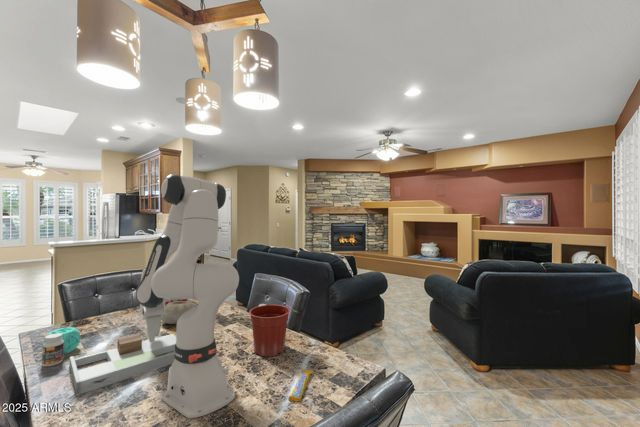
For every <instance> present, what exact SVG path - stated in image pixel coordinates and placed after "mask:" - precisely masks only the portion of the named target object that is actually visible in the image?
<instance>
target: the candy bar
mask: <svg viewBox="0 0 640 427" xmlns="http://www.w3.org/2000/svg"><path fill="white" fill-rule="evenodd" d="M313 371H314V370H309V369H300V374H299V377H298V379H297V382H296V383H295V386H294V388H293V390H292V392H291V394H290V395H289V397H288V401H289V402H292V401H293V402H296V401H300V402H302V398H303V396H304V393H305V391H306V388H307V386H308V383H309V381H308V380H310V378H311V375H312V374H313ZM306 385H307V386H306ZM304 390H305V391H304ZM302 395H303V396H302Z"/></svg>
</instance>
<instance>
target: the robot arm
mask: <svg viewBox="0 0 640 427" xmlns="http://www.w3.org/2000/svg"><path fill="white" fill-rule="evenodd" d="M160 193H161V198H162V199H163V200H164V201H165V202H166V203H169V204H171V207H170V209H169V212H168V215H167V221H166V225H165V227H164V229H163V231H162V233H161V235H160V236H159V237H158V238H157V239H156V241H155V242H154V244H153V247H152V250H151V253H150V256H149V259H148V262H147V265H146V267H145V268H144V269H143V270H142V272H141V276H140V281H139V284H138V285H137V288H136V291H135V298H136V300H137V302H138V304H139V312H140V314H142V315H143V317H144V319H145V323H146V326H145V327H146V333H147V334H146V335H147V338H148V340H149V342H154V341H155V338H157V337H159V335H160V332H161V326H162V325H161V324H162V320H161V317H162V315H163V312H164V309H165V302H167V301H170V300H178V299H188V300H198V301H197V304H196V305H197V306H195V307H194V308H192V309H190V310H188V311H186V312H184V313H183V314H182V315H181V316H180V317H179V319H178V321H177V324H176V332H175V333H176V335H175V336H176V344H175V348H174V351H173V352H174V358H175V360H174V362H173V364H170V365H169V366H170V367H169V369H168V373H167V374H168V375H167V386H166V387H167V388H166V391H164V392H163V393H162V395H161V400H162V402H164V403H166V404H167V405H169V406H170V407H171V408H173V409H174V410H176V411H177V412H179V413H180V414H181V415H182V416H184V417H186V418H187V419H195V418H200V417H203V416H206V415H208V414H211V413H213V412H216V411H218V410H219V409H222V408H223V407H225V406H227V405H228V404H230V403H231V402H232V401H233V400H234V399H235V398H236V393H235V391H234V389H233V388H232V386H231V384H230V382H229V381H228V379H227V375H228V374H229V368H228V366H224V367H223V364H222V362H223V360H222V358H219V356H218V353H217V352H218V350H217V343H216V339H215V326H216V319H217V318H216V317H217V314H218V312H219V310H220V307H221V306H222V304H223V303H224V302H225V301H226V300H227V299H228V298H229V297H231V296H232V295H234V293H235V292H236V290H237V288H238V286H239V282H240V275H239V272H238V270H237V269H236V268H235V267H234V266H233V265H231V264H226V263H219V262H216V263H215V262H212V263H210V262H209V263H206V262H205V263H198V262H197V261H198V259H199V258H200V256H201V255H204V254H205V253H207V252H210V251H211V250H213V249H215V247H216V245H217V244H218V237H219V236H218V235H219V234H218V233H219V210H220V209H221V208H222V207H223V206H224V205H225V202H226V198H227V191H226V188H225V187H224V185H222V184H220V183H217V182H212V181H209V180H205V179H201V178H198V177H193V176H186V175H180V174H169V175H167V176H166V177H165V178H164V180H163V181H162V183H161V187H160Z"/></svg>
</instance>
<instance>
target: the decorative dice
mask: <svg viewBox="0 0 640 427" xmlns="http://www.w3.org/2000/svg"><path fill="white" fill-rule="evenodd" d="M56 333H62V340H63V341H64V354H63V355H66V354H70V353H71V352H73V351H74V350H75V349H76V348H77V347H78V345H79V344H80V341H81V333H80V331H79V330H78V329H77V328H75V327H71V326H70V327H68V326H67V327H62V328H61V327H60V328H57V329H53V330H51V331H50V332H49V333H48V334H47V335H46V336H48V335H51V334H56ZM44 343H46V342H45V338H44V340H43V343H42V345H43V344H44Z"/></svg>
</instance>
